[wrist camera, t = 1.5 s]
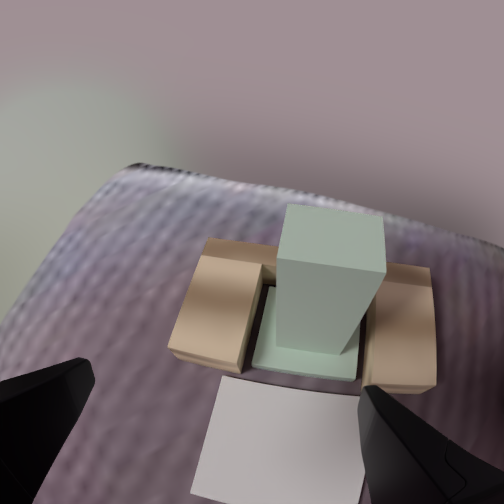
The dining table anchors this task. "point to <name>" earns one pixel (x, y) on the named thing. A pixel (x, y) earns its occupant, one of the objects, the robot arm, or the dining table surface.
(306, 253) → the mint green pillar
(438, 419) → the dining table surface
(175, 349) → the stand
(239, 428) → the mat
